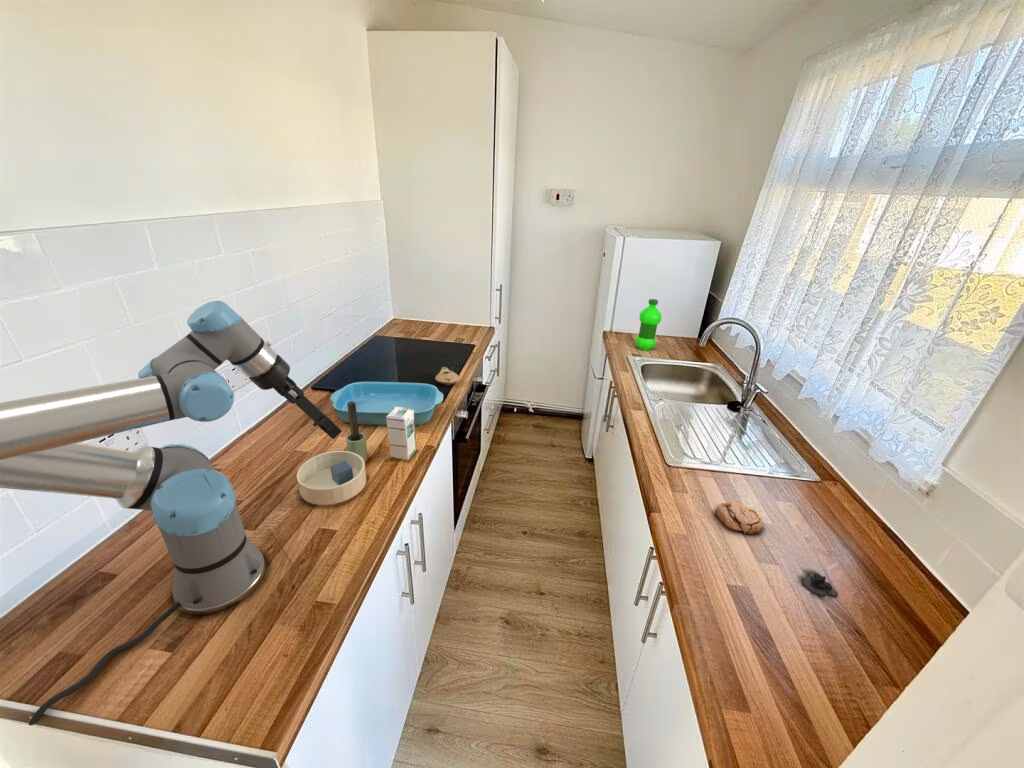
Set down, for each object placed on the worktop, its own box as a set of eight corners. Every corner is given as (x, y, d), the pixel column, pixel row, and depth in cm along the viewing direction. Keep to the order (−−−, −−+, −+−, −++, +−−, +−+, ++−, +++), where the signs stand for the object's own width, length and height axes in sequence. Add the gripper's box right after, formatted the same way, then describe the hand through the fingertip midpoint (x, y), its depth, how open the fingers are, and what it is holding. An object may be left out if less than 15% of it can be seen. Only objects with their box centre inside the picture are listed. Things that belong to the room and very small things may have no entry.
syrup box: (409, 462, 123) (406, 418, 117) (389, 458, 124) (385, 415, 118) (416, 451, 129) (414, 408, 122) (398, 448, 129) (395, 405, 123)
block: (339, 486, 111) (337, 473, 110) (332, 479, 114) (330, 466, 112) (353, 479, 114) (352, 467, 112) (346, 472, 117) (344, 460, 115)
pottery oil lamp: (454, 373, 179) (460, 361, 174) (454, 394, 170) (460, 382, 166) (433, 367, 175) (439, 355, 171) (432, 388, 167) (439, 376, 163)
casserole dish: (445, 399, 159) (445, 381, 156) (441, 431, 139) (440, 412, 136) (343, 397, 156) (341, 380, 153) (323, 430, 136) (320, 410, 133)
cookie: (764, 540, 103) (768, 530, 101) (717, 527, 106) (720, 517, 105) (758, 513, 111) (762, 504, 110) (714, 501, 114) (717, 493, 113)
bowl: (316, 517, 102) (313, 499, 100) (290, 484, 112) (286, 467, 110) (378, 487, 113) (376, 470, 111) (348, 459, 123) (346, 443, 121)
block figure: (799, 569, 92) (818, 564, 94) (795, 576, 93) (814, 571, 95) (824, 592, 87) (844, 587, 89) (820, 600, 88) (840, 594, 90)
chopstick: (357, 460, 122) (349, 404, 114) (354, 458, 123) (346, 402, 115) (362, 458, 123) (355, 402, 115) (359, 455, 124) (352, 400, 116)
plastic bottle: (630, 345, 222) (639, 297, 211) (650, 345, 223) (659, 297, 212) (637, 352, 213) (647, 302, 202) (658, 352, 214) (668, 303, 203)
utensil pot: (354, 468, 120) (351, 444, 116) (346, 460, 123) (342, 436, 119) (371, 461, 123) (368, 437, 120) (362, 453, 126) (359, 430, 123)
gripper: (301, 373, 84) (361, 433, 99) (257, 337, 99) (315, 393, 115) (269, 400, 82) (335, 457, 97) (229, 358, 97) (292, 413, 112)
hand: (324, 423), depth 106 cm, fingers open, 13 cm apart
